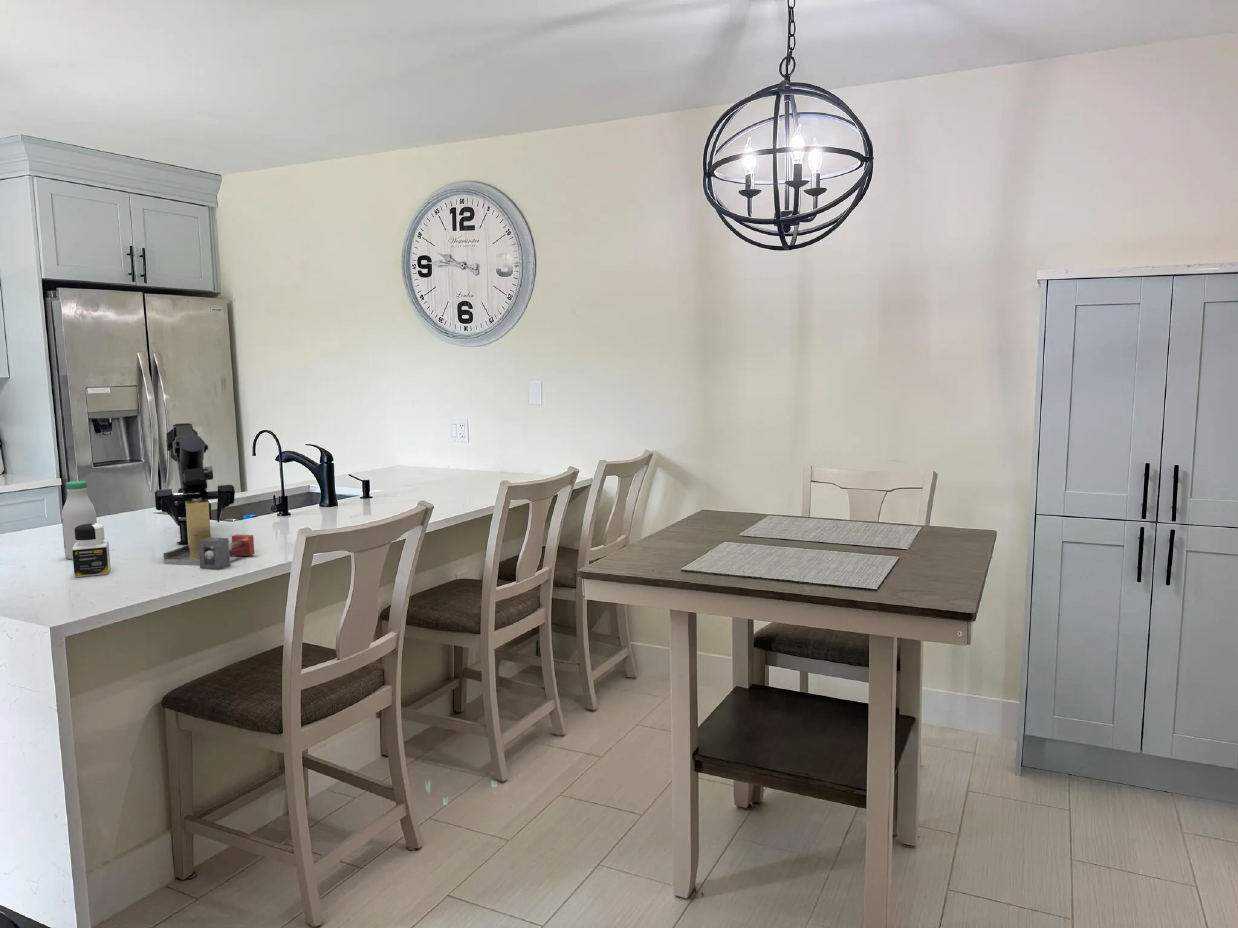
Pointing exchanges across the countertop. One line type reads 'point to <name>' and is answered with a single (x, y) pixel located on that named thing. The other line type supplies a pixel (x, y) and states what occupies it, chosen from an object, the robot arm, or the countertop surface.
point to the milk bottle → (76, 513)
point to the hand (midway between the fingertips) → (198, 523)
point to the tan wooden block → (197, 523)
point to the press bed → (182, 557)
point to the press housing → (219, 550)
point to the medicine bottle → (90, 551)
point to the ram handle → (237, 546)
